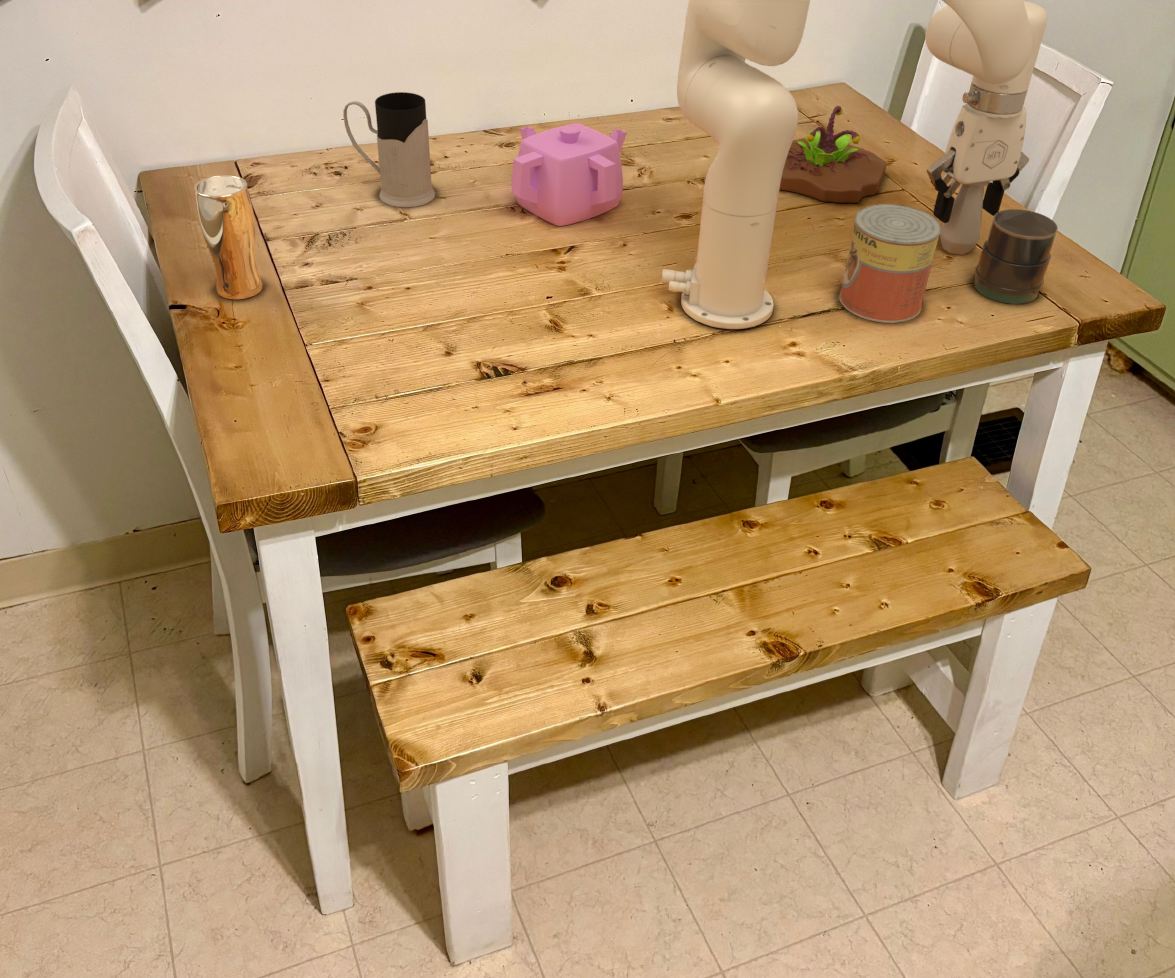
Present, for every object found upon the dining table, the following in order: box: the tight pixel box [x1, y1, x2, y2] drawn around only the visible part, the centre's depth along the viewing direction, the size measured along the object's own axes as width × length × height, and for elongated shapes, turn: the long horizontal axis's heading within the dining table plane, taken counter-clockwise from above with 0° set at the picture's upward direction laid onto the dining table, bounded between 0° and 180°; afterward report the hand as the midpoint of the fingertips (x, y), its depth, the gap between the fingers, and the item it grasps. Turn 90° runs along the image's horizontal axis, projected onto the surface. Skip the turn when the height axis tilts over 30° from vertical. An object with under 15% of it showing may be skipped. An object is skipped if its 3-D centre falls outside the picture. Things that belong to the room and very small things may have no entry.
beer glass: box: [193, 174, 264, 301], centre depth 149 cm, size 7×7×15 cm
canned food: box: [838, 203, 942, 324], centre depth 153 cm, size 11×11×12 cm
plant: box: [779, 105, 887, 204], centre depth 185 cm, size 20×20×11 cm
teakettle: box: [510, 122, 628, 227], centre depth 173 cm, size 17×17×12 cm
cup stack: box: [973, 208, 1058, 305], centre depth 158 cm, size 9×9×10 cm
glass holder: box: [342, 91, 436, 208], centre depth 174 cm, size 9×14×15 cm, turn 71°
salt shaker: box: [939, 181, 991, 256], centre depth 166 cm, size 6×6×13 cm
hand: (965, 214), depth 166 cm, fingers open, 7 cm apart
